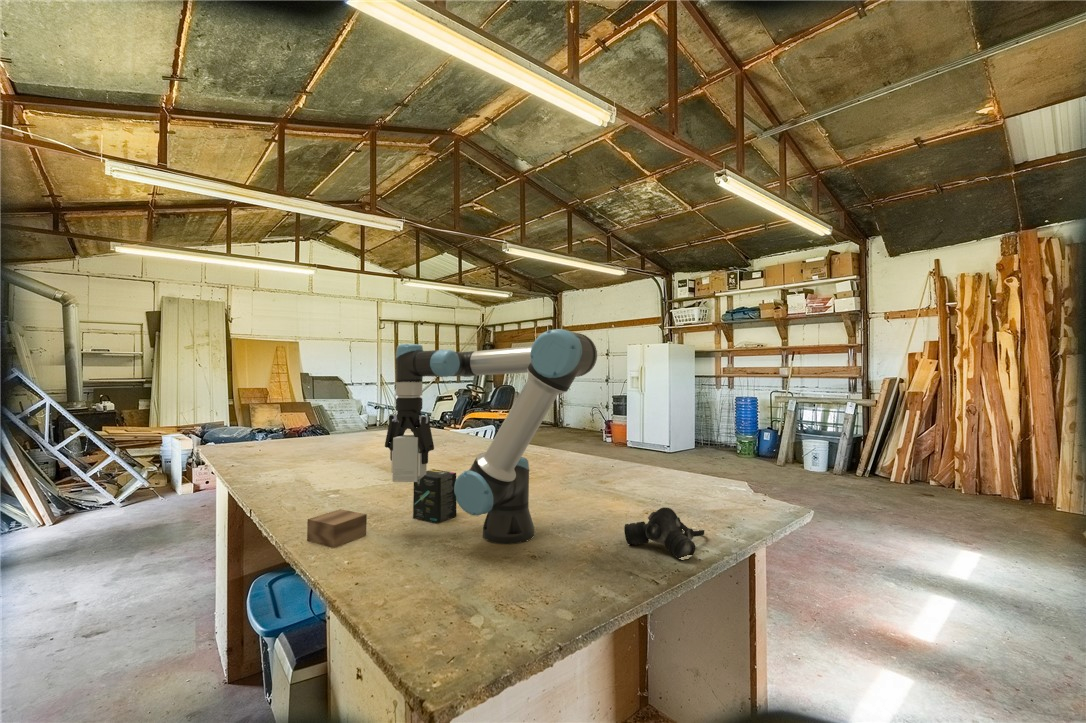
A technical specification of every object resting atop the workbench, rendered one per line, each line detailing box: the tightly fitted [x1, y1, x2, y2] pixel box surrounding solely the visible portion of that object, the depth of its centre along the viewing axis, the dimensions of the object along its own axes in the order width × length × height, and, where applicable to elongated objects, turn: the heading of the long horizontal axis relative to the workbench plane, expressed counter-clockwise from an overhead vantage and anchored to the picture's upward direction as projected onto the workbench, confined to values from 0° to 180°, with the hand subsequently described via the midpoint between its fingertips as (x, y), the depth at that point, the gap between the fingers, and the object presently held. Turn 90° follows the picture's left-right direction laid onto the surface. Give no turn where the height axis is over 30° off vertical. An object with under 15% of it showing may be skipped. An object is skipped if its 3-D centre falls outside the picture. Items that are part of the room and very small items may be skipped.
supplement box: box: [392, 434, 424, 483], centre depth 136 cm, size 7×7×13 cm
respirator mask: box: [623, 506, 705, 559], centre depth 130 cm, size 20×22×15 cm
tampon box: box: [412, 469, 458, 524], centre depth 152 cm, size 11×9×15 cm
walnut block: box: [306, 508, 368, 548], centre depth 133 cm, size 11×11×6 cm
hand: (408, 473), depth 135 cm, fingers closed on supplement box, 9 cm apart
